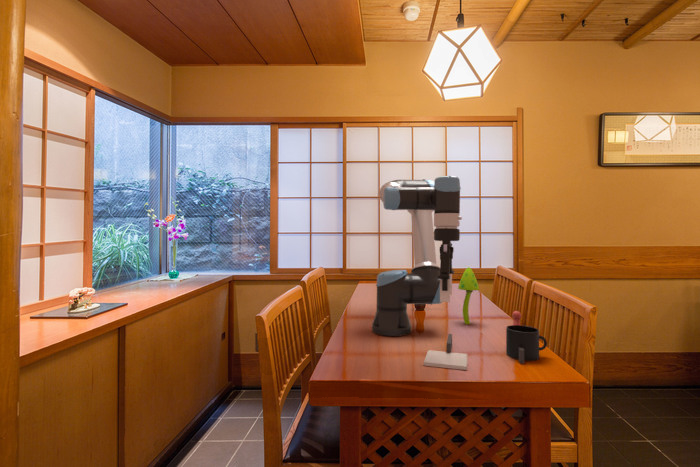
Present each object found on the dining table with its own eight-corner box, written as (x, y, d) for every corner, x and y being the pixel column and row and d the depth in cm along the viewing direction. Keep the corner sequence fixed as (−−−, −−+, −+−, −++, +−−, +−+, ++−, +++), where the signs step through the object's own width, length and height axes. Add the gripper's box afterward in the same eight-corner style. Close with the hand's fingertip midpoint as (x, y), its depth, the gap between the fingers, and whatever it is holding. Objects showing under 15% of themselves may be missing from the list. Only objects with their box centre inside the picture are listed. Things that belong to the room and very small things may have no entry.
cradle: (446, 356, 118) (446, 314, 118) (448, 343, 132) (449, 306, 132) (527, 364, 111) (527, 320, 111) (520, 349, 125) (520, 310, 125)
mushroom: (472, 331, 149) (472, 268, 149) (453, 327, 155) (454, 266, 155) (483, 327, 154) (483, 267, 154) (465, 323, 161) (465, 265, 161)
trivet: (423, 365, 109) (423, 362, 109) (428, 353, 120) (428, 350, 120) (466, 370, 105) (466, 366, 105) (467, 357, 117) (467, 353, 117)
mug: (552, 363, 112) (552, 333, 113) (510, 361, 114) (511, 331, 114) (541, 353, 122) (541, 325, 122) (502, 351, 124) (502, 324, 124)
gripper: (458, 227, 100) (457, 306, 100) (460, 228, 124) (460, 292, 124) (430, 227, 102) (429, 304, 102) (437, 228, 126) (436, 290, 126)
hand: (446, 298), depth 113 cm, fingers open, 13 cm apart
